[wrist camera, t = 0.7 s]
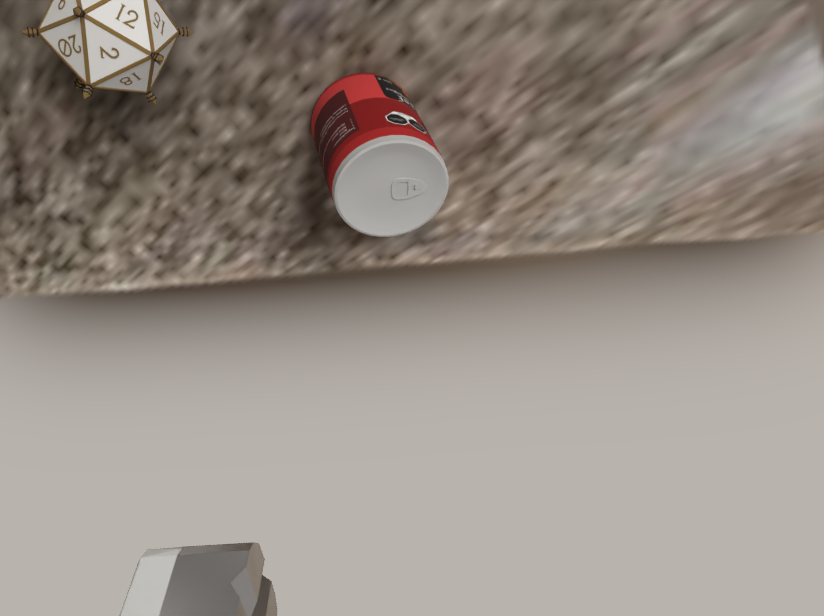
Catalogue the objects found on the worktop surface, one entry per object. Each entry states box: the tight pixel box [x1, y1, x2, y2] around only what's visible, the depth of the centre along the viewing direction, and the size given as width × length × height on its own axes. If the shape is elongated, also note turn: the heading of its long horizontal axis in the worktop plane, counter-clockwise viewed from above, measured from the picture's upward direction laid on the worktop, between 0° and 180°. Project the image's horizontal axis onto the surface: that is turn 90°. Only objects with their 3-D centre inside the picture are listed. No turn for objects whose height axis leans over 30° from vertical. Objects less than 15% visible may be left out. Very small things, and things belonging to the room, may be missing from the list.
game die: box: [22, 0, 193, 105], centre depth 48 cm, size 9×8×10 cm
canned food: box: [311, 73, 449, 237], centre depth 56 cm, size 8×8×11 cm
